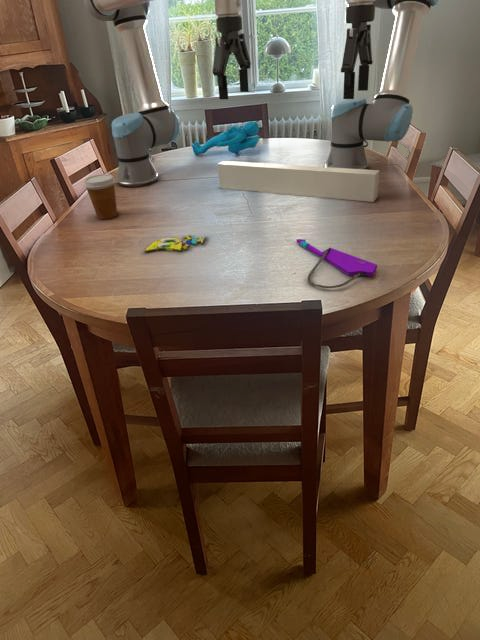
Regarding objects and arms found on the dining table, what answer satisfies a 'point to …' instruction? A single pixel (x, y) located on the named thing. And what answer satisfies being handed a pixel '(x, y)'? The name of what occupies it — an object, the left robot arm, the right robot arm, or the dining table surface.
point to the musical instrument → (340, 263)
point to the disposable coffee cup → (102, 195)
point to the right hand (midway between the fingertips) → (356, 94)
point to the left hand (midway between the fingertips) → (234, 95)
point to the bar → (300, 180)
